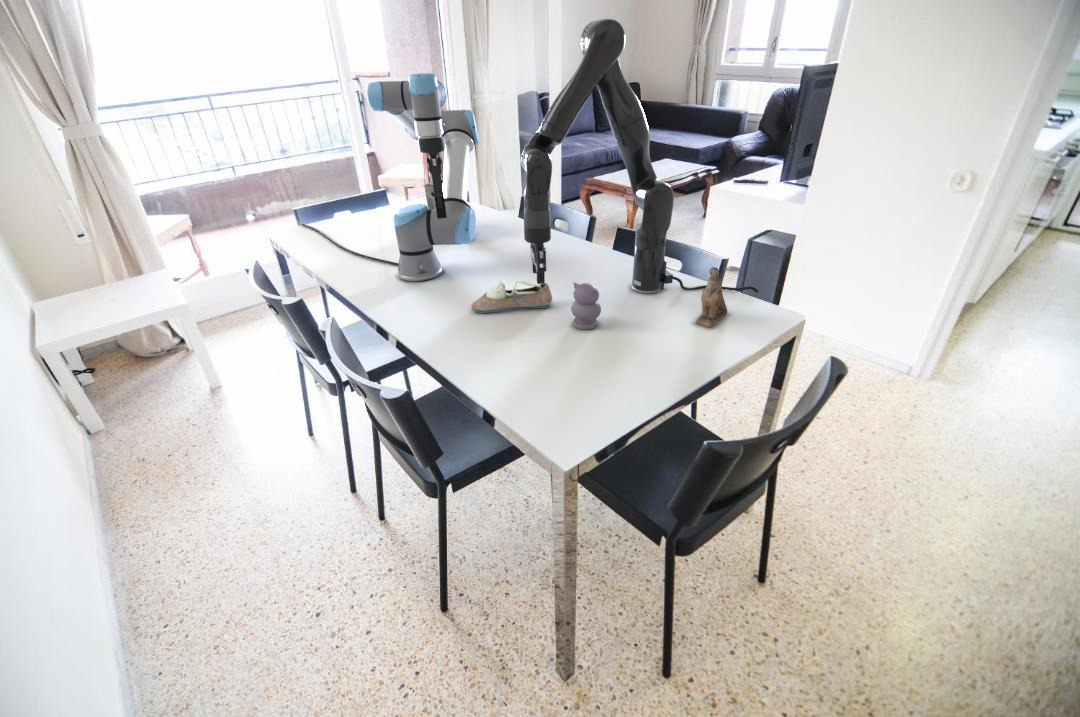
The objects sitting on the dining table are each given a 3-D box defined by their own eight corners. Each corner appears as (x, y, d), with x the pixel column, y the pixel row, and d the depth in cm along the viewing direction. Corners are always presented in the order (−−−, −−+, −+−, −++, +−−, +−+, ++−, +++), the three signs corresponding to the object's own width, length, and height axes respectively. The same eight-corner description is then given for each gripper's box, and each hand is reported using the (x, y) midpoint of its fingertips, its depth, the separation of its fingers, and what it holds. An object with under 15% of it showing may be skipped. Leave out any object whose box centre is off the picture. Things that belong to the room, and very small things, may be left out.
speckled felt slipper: (470, 304, 153) (467, 279, 148) (549, 297, 156) (548, 272, 151) (471, 316, 146) (468, 290, 141) (554, 308, 149) (553, 282, 144)
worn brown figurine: (709, 335, 136) (713, 280, 124) (691, 329, 139) (693, 274, 128) (730, 313, 142) (736, 258, 130) (712, 307, 145) (716, 253, 133)
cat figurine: (606, 323, 139) (608, 283, 132) (589, 334, 134) (589, 293, 128) (582, 314, 144) (583, 276, 138) (564, 324, 139) (564, 285, 133)
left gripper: (446, 142, 130) (456, 222, 142) (442, 129, 151) (451, 200, 162) (417, 144, 129) (429, 224, 140) (417, 131, 150) (427, 202, 161)
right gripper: (555, 230, 133) (555, 286, 142) (546, 216, 145) (546, 268, 154) (527, 232, 132) (529, 288, 141) (520, 217, 144) (522, 270, 153)
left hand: (441, 211), depth 151 cm, fingers open, 13 cm apart
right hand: (538, 277), depth 147 cm, fingers open, 8 cm apart
